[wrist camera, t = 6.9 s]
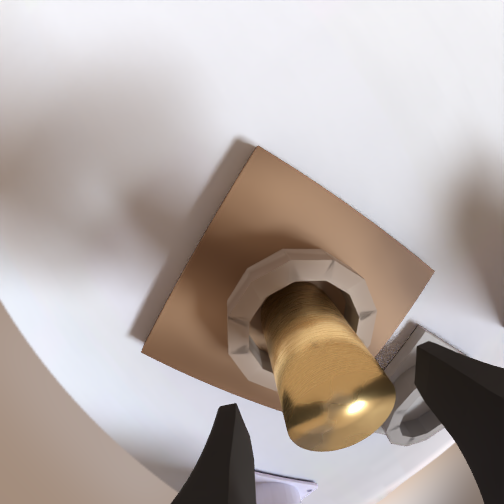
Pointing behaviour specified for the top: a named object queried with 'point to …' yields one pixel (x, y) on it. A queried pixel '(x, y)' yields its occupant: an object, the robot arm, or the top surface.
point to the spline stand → (410, 395)
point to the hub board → (261, 232)
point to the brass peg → (322, 371)
